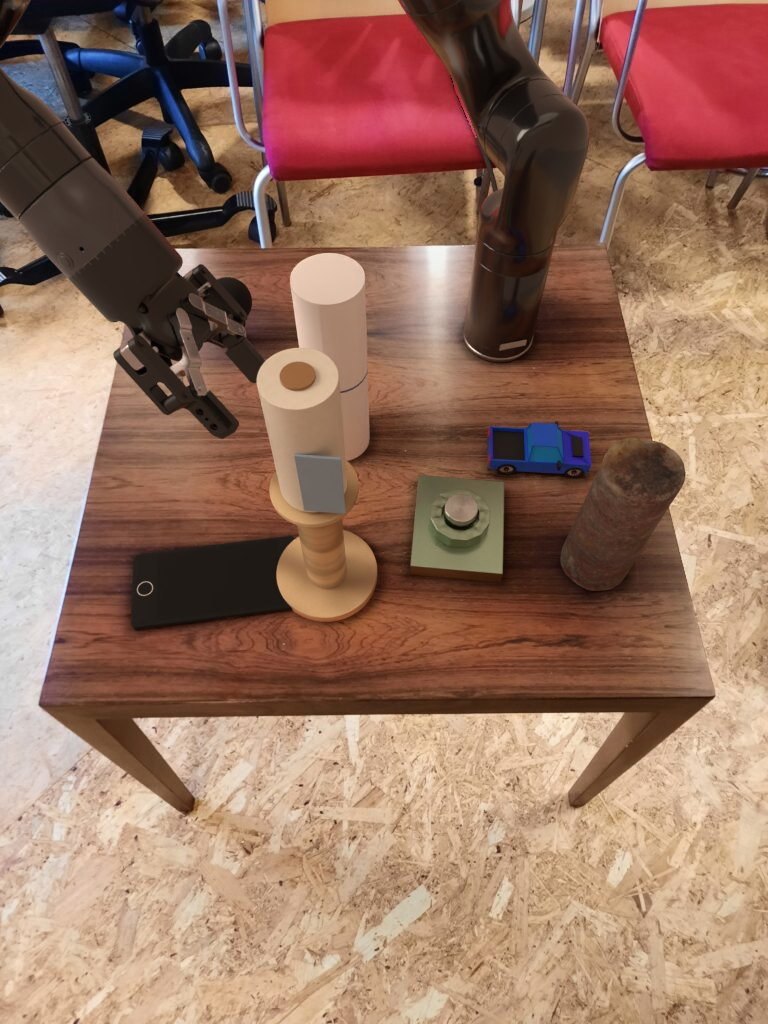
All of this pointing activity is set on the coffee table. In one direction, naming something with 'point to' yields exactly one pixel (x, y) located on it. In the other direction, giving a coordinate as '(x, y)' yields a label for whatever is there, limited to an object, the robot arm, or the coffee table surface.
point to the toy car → (538, 450)
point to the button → (460, 511)
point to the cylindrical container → (337, 333)
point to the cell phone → (207, 583)
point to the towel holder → (324, 560)
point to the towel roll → (305, 428)
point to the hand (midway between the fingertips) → (247, 403)
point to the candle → (621, 512)
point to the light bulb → (236, 294)
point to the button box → (458, 531)
